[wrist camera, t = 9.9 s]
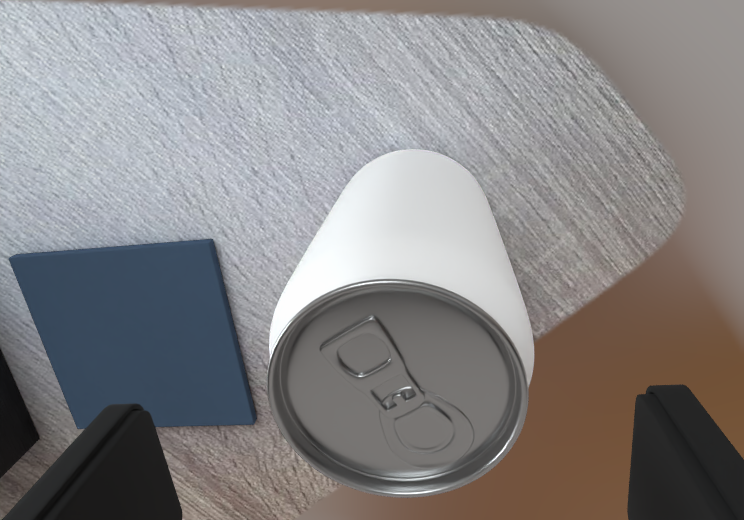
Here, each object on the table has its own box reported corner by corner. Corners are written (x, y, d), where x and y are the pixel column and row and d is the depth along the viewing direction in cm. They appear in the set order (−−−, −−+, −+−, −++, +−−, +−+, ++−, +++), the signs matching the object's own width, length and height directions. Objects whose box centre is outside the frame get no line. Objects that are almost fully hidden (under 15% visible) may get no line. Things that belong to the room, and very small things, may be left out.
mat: (15, 254, 25) (7, 258, 24) (213, 238, 23) (208, 242, 23) (82, 423, 29) (77, 429, 28) (257, 418, 27) (254, 424, 27)
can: (393, 315, 24) (361, 547, 13) (307, 203, 22) (186, 358, 11) (519, 242, 22) (607, 442, 11) (435, 113, 20) (439, 195, 9)
